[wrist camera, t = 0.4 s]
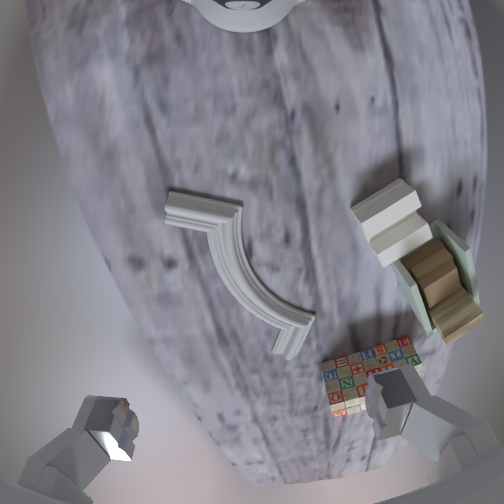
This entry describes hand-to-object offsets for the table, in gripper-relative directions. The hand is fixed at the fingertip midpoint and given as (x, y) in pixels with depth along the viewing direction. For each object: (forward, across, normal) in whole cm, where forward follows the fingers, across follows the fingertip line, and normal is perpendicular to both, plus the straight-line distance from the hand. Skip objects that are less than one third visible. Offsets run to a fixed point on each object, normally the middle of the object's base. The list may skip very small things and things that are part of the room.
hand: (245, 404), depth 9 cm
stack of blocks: (+45, -23, +44) cm, 67 cm away
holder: (+40, -23, +9) cm, 48 cm away
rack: (+41, -32, +19) cm, 56 cm away
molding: (+43, +2, +20) cm, 48 cm away
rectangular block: (+40, -34, +23) cm, 57 cm away
